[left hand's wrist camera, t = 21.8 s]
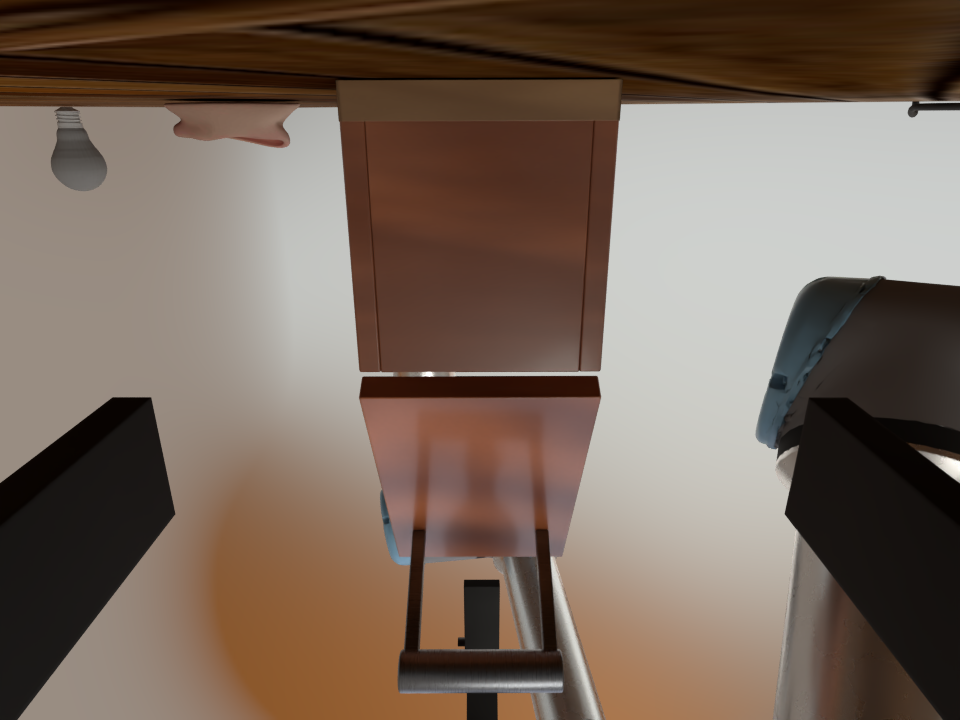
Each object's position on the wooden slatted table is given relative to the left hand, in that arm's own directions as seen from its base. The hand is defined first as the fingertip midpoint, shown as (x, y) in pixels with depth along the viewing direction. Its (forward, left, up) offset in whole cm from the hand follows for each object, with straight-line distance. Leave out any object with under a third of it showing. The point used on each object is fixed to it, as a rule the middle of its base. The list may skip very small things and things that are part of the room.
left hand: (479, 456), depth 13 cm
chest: (-16, +11, -8) cm, 21 cm away
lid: (-13, +9, +10) cm, 19 cm away
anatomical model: (-27, +45, -8) cm, 53 cm away
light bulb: (-30, +83, -8) cm, 88 cm away
